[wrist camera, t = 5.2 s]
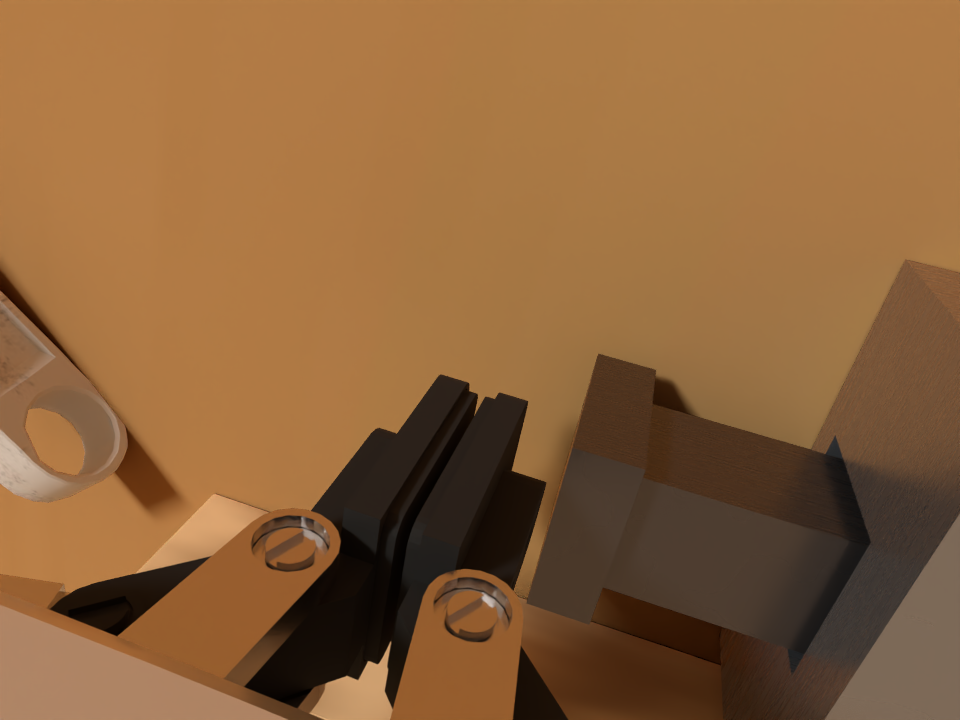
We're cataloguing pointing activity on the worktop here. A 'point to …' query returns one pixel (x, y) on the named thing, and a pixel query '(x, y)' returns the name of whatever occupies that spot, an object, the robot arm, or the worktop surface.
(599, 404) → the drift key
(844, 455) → the socket block
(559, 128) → the worktop surface
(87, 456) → the wrench
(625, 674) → the rack
